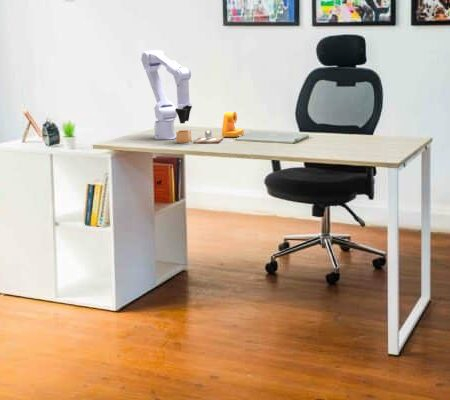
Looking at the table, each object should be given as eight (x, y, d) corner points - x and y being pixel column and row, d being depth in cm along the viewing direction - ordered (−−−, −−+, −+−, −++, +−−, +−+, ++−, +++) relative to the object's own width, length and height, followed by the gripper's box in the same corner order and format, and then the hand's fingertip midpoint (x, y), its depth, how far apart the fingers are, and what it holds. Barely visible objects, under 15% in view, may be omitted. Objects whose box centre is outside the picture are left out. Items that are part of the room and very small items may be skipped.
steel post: (204, 142, 448) (204, 131, 447) (206, 141, 451) (205, 130, 450) (210, 142, 448) (210, 131, 447) (212, 141, 451) (211, 130, 449)
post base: (193, 143, 445) (193, 141, 445) (199, 139, 456) (199, 137, 456) (218, 143, 442) (218, 141, 442) (223, 139, 454) (223, 137, 454)
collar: (176, 142, 450) (176, 132, 449) (179, 140, 455) (179, 130, 454) (188, 142, 449) (188, 132, 447) (191, 140, 454) (191, 130, 453)
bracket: (235, 138, 457) (234, 113, 454) (222, 137, 460) (221, 113, 457) (244, 134, 466) (243, 110, 463) (231, 134, 469) (230, 110, 466)
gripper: (187, 95, 439) (189, 124, 442) (194, 91, 453) (195, 119, 456) (173, 95, 441) (174, 124, 444) (180, 92, 454) (181, 120, 458)
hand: (184, 122), depth 450 cm, fingers open, 7 cm apart
